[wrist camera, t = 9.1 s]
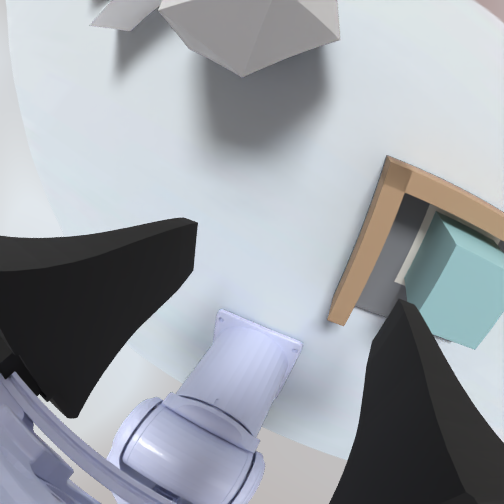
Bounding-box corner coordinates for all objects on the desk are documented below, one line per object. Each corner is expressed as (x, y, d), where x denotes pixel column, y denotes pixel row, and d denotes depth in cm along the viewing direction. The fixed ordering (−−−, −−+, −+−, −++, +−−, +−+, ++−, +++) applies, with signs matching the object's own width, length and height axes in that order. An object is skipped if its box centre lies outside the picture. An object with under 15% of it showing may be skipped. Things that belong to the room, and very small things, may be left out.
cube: (494, 240, 13) (523, 280, 9) (460, 300, 16) (474, 349, 12) (435, 210, 15) (456, 244, 10) (404, 277, 17) (409, 325, 13)
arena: (453, 339, 18) (458, 365, 15) (333, 294, 20) (327, 319, 18) (521, 223, 12) (540, 242, 10) (386, 155, 15) (390, 161, 12)
